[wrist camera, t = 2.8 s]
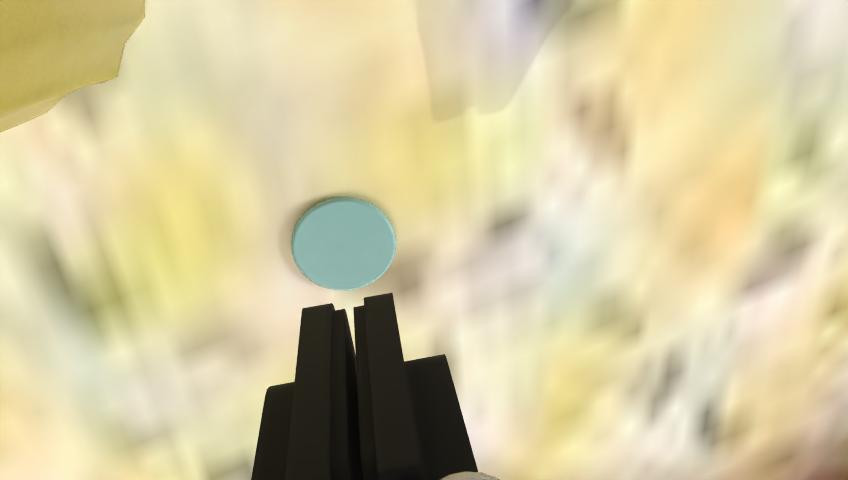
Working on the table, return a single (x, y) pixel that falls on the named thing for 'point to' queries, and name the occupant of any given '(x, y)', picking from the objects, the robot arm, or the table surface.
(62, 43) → the vase
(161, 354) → the table surface
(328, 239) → the button
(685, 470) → the table surface
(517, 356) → the table surface
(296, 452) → the robot arm
